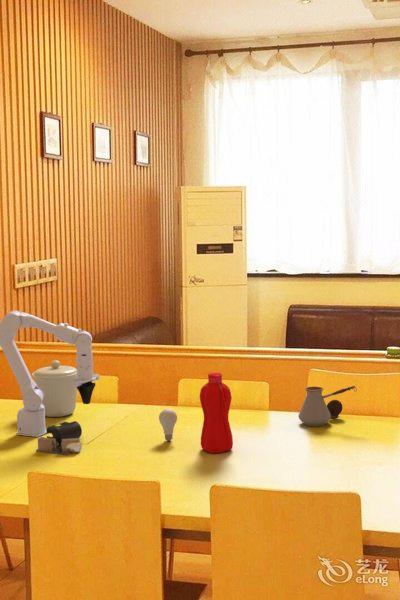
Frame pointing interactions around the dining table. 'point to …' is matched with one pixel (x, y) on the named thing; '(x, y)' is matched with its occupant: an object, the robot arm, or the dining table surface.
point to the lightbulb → (168, 422)
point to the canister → (57, 389)
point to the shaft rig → (51, 444)
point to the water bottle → (216, 415)
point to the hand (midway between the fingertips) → (86, 403)
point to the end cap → (65, 431)
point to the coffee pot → (316, 406)
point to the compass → (334, 408)
